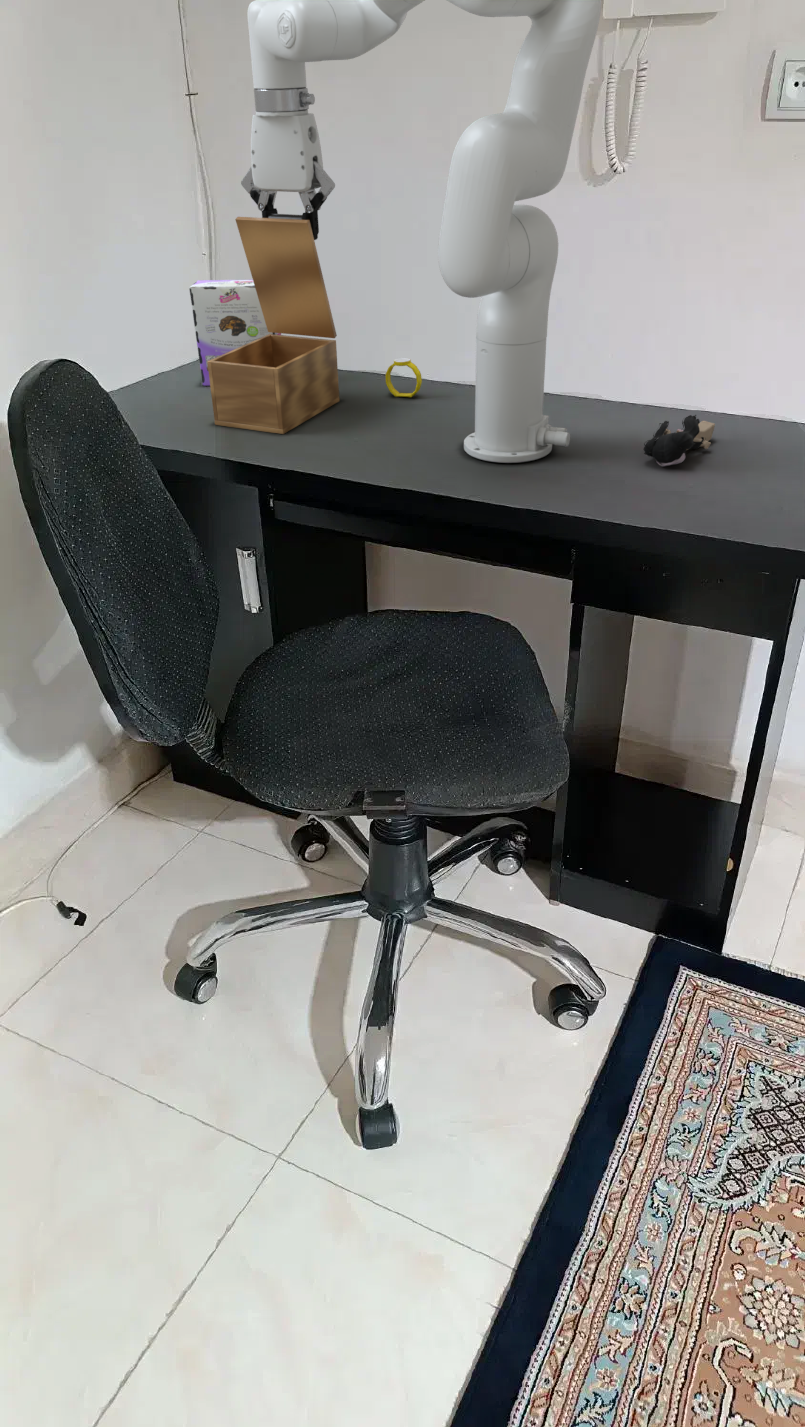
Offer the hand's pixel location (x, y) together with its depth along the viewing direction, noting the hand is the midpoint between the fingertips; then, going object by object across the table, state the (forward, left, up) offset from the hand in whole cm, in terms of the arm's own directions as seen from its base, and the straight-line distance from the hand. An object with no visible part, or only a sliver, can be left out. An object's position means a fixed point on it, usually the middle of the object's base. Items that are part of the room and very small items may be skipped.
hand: (291, 238), depth 159 cm
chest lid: (0, +2, -6) cm, 6 cm away
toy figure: (-63, +4, -25) cm, 68 cm away
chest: (0, +8, -24) cm, 26 cm away
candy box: (+15, -5, -25) cm, 29 cm away
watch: (-15, -7, -25) cm, 30 cm away
